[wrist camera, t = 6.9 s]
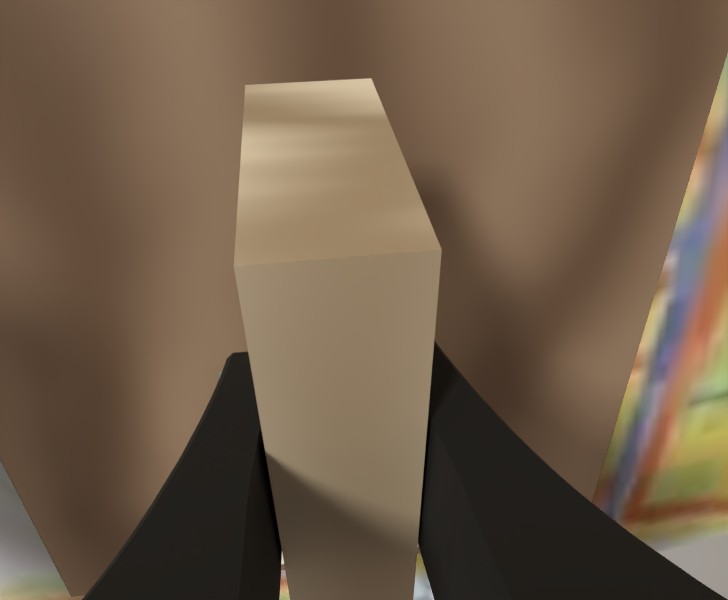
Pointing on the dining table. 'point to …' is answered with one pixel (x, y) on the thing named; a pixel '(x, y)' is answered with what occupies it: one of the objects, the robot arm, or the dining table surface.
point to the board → (220, 200)
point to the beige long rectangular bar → (337, 332)
